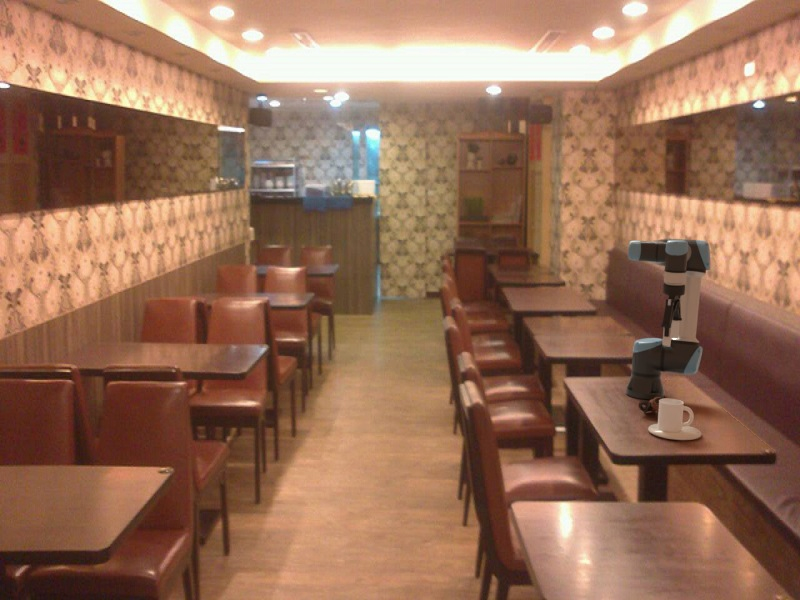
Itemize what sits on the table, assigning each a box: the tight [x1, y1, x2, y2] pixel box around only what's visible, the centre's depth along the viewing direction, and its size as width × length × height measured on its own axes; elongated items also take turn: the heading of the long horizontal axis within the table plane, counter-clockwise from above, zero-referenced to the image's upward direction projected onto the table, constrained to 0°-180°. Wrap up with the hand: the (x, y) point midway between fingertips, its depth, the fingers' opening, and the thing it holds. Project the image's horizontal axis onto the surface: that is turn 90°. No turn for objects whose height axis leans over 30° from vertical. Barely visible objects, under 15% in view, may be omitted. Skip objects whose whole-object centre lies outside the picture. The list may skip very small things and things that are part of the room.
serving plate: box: [648, 423, 702, 441], centre depth 328 cm, size 18×18×1 cm
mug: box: [657, 397, 695, 433], centre depth 328 cm, size 12×8×10 cm
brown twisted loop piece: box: [638, 397, 665, 419], centre depth 349 cm, size 12×10×8 cm
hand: (670, 341), depth 334 cm, fingers open, 13 cm apart
